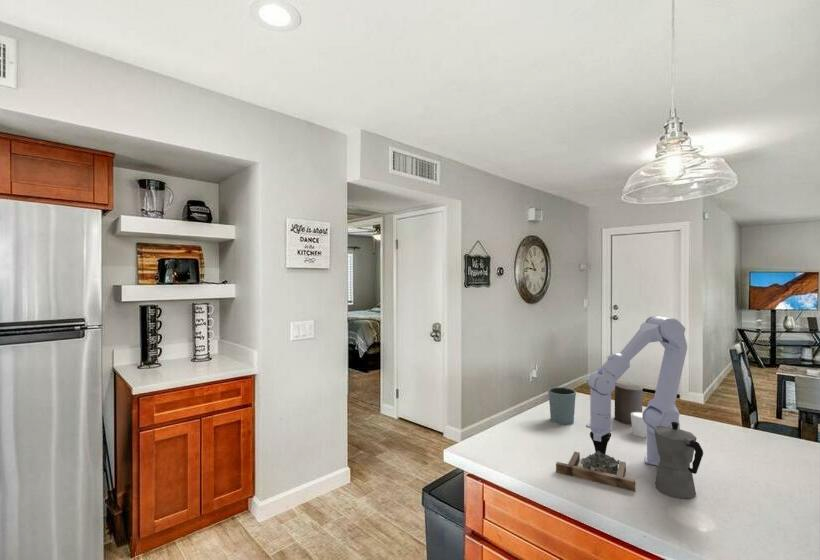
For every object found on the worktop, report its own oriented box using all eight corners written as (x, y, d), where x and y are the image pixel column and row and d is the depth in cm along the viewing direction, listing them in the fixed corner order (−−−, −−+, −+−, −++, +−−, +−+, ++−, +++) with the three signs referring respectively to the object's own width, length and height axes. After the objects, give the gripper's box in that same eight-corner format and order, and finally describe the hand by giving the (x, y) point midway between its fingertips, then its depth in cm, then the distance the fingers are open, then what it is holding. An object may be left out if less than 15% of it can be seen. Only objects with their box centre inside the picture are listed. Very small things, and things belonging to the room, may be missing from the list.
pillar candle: (611, 421, 158) (612, 383, 158) (616, 414, 166) (617, 378, 166) (640, 427, 153) (640, 387, 152) (644, 419, 160) (644, 382, 160)
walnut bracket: (637, 473, 117) (637, 464, 117) (635, 491, 107) (635, 482, 107) (564, 457, 127) (564, 449, 127) (556, 472, 117) (555, 463, 117)
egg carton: (603, 482, 112) (603, 467, 112) (577, 471, 118) (577, 457, 118) (622, 470, 118) (622, 456, 118) (597, 461, 124) (597, 448, 124)
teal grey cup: (578, 419, 161) (578, 389, 161) (573, 427, 152) (573, 395, 152) (551, 415, 166) (551, 385, 166) (545, 422, 158) (545, 391, 157)
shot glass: (656, 438, 142) (656, 418, 142) (636, 437, 142) (636, 417, 142) (645, 430, 149) (645, 411, 149) (626, 430, 149) (626, 411, 149)
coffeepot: (641, 478, 114) (641, 414, 113) (672, 476, 115) (672, 413, 114) (683, 510, 98) (683, 435, 98) (719, 507, 99) (719, 434, 99)
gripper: (590, 403, 132) (590, 445, 133) (582, 416, 120) (582, 462, 120) (614, 407, 129) (614, 450, 129) (608, 421, 116) (608, 468, 117)
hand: (600, 456), depth 124 cm, fingers closed
